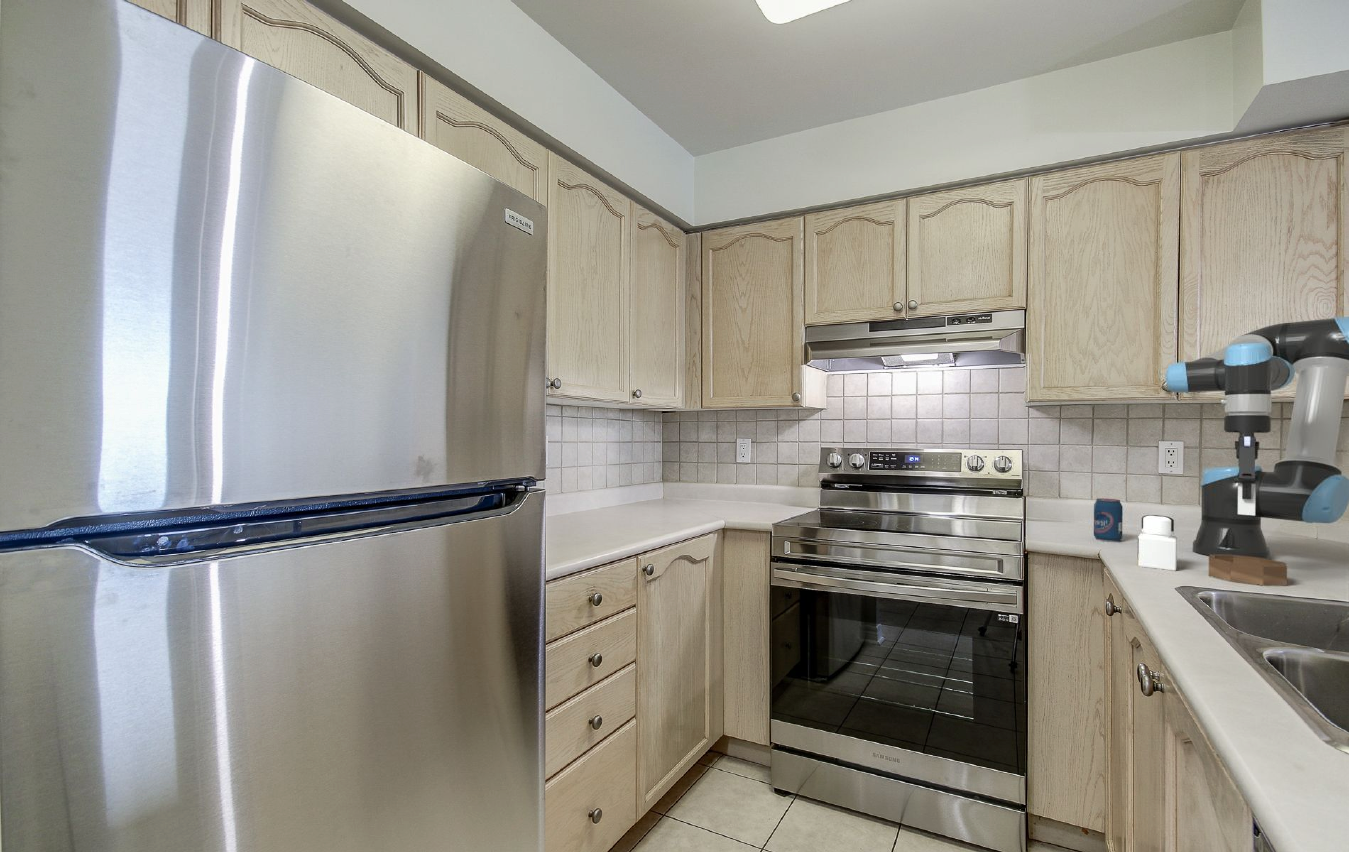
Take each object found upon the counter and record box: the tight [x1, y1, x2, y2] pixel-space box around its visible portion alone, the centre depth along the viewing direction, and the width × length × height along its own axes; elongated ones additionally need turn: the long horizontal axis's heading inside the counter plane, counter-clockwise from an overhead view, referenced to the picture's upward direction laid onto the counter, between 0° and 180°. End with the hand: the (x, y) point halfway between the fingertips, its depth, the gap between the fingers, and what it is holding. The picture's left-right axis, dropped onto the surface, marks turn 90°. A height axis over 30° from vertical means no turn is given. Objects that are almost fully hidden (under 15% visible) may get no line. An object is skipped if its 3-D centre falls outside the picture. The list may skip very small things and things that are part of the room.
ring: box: [1208, 555, 1288, 586], centre depth 137 cm, size 12×12×4 cm
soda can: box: [1093, 497, 1124, 543], centre depth 184 cm, size 7×7×12 cm
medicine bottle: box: [1137, 514, 1178, 572], centre depth 148 cm, size 7×7×12 cm
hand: (1246, 512), depth 137 cm, fingers open, 13 cm apart
